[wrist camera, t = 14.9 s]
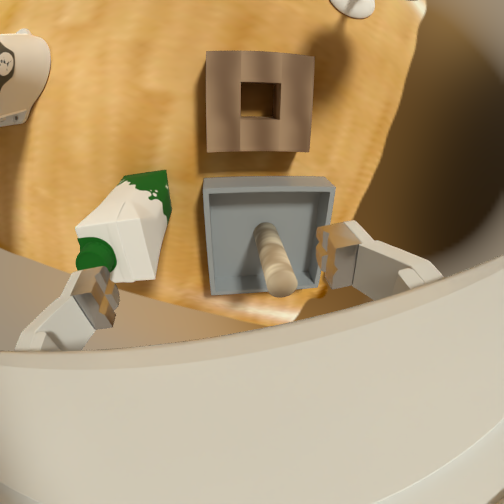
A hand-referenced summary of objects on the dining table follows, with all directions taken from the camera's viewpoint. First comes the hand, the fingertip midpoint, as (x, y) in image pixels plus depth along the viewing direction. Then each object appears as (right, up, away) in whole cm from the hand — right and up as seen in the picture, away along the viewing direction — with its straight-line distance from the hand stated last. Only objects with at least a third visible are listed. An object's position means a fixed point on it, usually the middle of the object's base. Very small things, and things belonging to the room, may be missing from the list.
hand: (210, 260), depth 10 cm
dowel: (+4, +4, +37) cm, 37 cm away
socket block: (+2, +22, +25) cm, 34 cm away
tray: (+4, +4, +38) cm, 38 cm away
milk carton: (-15, +10, +31) cm, 36 cm away
